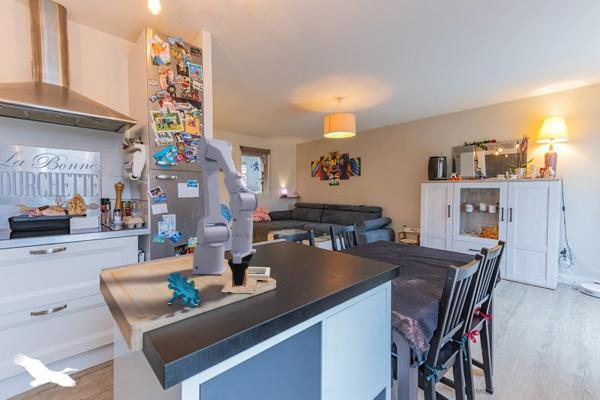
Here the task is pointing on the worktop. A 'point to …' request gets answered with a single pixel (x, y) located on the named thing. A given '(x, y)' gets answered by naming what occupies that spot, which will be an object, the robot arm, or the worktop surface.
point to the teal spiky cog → (183, 289)
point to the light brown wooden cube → (244, 279)
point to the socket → (262, 271)
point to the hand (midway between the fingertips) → (240, 281)
